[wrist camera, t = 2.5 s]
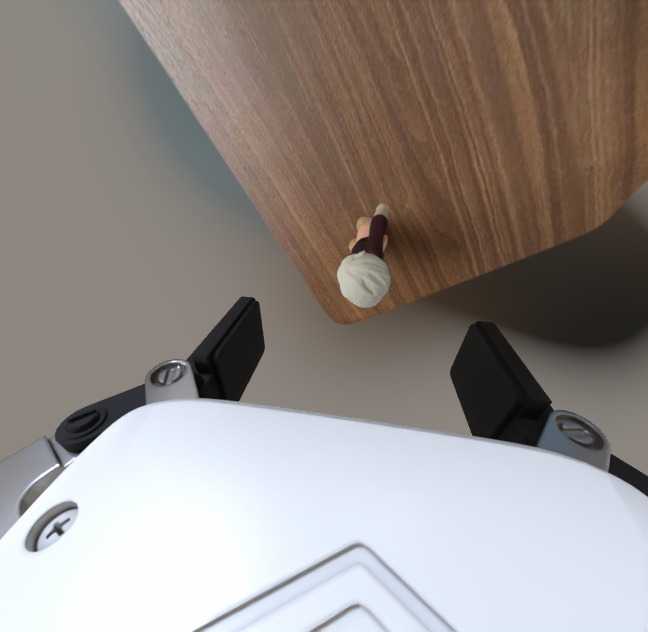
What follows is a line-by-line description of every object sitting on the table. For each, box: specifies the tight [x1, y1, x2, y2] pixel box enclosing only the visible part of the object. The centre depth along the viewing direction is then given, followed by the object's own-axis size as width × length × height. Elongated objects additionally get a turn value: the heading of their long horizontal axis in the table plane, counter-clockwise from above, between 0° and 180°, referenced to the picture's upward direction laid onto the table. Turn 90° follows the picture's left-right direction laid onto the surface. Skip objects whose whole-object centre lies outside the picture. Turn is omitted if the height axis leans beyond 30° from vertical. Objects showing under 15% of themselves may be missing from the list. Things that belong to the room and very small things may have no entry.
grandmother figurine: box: [337, 203, 391, 308], centre depth 20 cm, size 8×4×13 cm, turn 172°
